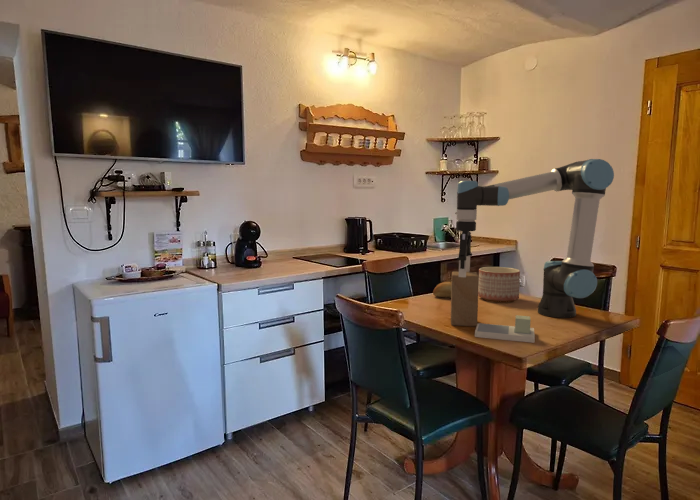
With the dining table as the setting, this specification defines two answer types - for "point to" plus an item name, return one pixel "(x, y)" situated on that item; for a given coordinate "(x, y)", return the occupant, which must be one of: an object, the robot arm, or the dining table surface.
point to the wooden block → (464, 299)
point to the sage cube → (522, 324)
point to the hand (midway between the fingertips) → (464, 274)
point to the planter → (499, 284)
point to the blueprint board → (503, 333)
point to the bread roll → (443, 290)
